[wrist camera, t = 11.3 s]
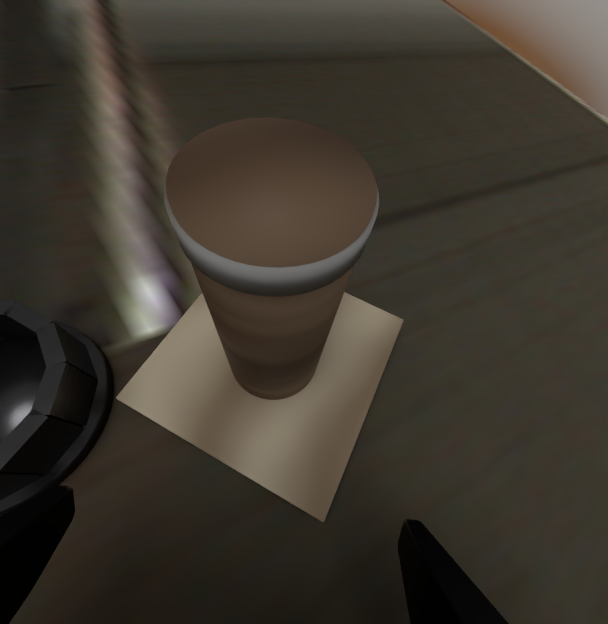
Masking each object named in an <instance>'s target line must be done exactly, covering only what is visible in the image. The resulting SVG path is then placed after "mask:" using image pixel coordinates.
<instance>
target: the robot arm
mask: <svg viewBox="0 0 608 624" xmlns="http://www.w3.org/2000/svg"><path fill="white" fill-rule="evenodd" d="M74 513H75V505H74V494H73V489H72V488H71V487H70V486H60V485H56V486H53V487H51V488H49V489H47V490H46V491H44V492H42V493H40V494H39V495H37V496H35V497H33V498H32V499H30V500H28V501H26V502H25V503H23V504H21V505H19V506H18V507H16V508H14V509H13V510H11V511H9V512H7V513H6V514H4V515H2V516H0V624H9V623H10V621H11V620H12V618H13V617H14V615H15V614H16V613H17V611H18V610H19V608H20V607H21V605H22V604H23V602H24V601H25V599H26V598H27V596H28V595H29V593H30V592H31V590H32V589H33V587H34V585H35V584H36V582H37V580H38V579H39V577H40V575H41V574H42V572H43V570H44V568H45V567H46V565H47V563H48V561H49V560H50V558H51V556H52V554H53V553H54V551H55V549H56V547H57V546H58V544H59V542H60V541H61V539H62V537H63V535H64V534H65V532H66V530H67V528H68V527H69V525H70V523H71V521H72V519H73V517H74ZM398 553H399V559H400V565H401V571H402V577H403V583H404V589H405V594H406V600H407V606H408V612H409V617H410V622H411V624H509V623H508V622H507V621H506V620H505V619H504V618H503V616H502V615H501V614H500V613H499V612H498V611H497V610H496V608H495V607H494V606H493V605H492V604H491V603H490V601H489V600H488V599H487V598H486V597H485V596H484V594H483V593H482V592H481V591H480V590H479V589H478V587H477V586H476V585H475V584H474V583H473V582H472V581H471V579H470V578H469V577H468V576H467V575H466V574H465V572H464V571H463V570H462V569H461V568H460V567H459V565H458V564H457V563H456V562H455V561H454V560H453V558H452V557H451V556H450V555H449V554H448V553H447V551H446V550H445V549H444V548H443V547H442V546H441V545H440V543H439V542H438V541H437V540H436V539H435V538H434V536H433V535H432V534H431V533H430V532H429V531H428V529H427V528H426V527H425V526H424V525H423V524H422V523H421V522H420V521H418V520H410V519H405V520H404V522H403V525H402V528H401V532H400V536H399V540H398Z"/></svg>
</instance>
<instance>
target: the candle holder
mask: <svg viewBox="0 0 608 624" xmlns="http://www.w3.org/2000/svg"><path fill="white" fill-rule="evenodd" d="M113 388H114V383H113V375H112V371H111V367H110V364H109V362H108V360H107V358H106V356H105V354H104V353H103V352H102V350H101V349H100V348H99V347H98V346H97V345H96V344H95V343H94V342H93V341H92V340H91V339H89V338H88V337H87V336H86V335H84V334H83V333H81V332H80V331H78V330H77V329H75V328H73V327H71V326H69V325H67V324H63V323H60V322H56V321H52V320H50V319H48V318H46V317H45V316H43V315H41V314H40V313H38V312H36V311H34V310H33V309H31V308H29V307H27V306H26V305H24V304H22V303H20V302H19V301H16V300H0V515H4V514H6V513H7V512H9V511H11V510H13V509H14V508H16V507H18V506H19V505H21V504H23V503H25V502H26V501H28V500H30V499H32V498H33V497H35V496H37V495H39V494H40V493H42V492H44V491H46V490H47V489H49V488H51V487H53V486H56V485H58V484H59V483H61V482H62V481H63V480H64V479H65V478H66V477H67V476H68V475H69V474H71V473H72V472H73V471H74V470H75V469H76V468H77V466H78V465H79V464H80V463H81V462H82V461H83V460H84V458H85V457H86V456H87V455H88V453H89V452H90V450H91V449H92V448H93V446H94V445H95V443H96V441H97V440H98V438H99V436H100V434H101V433H102V431H103V428H104V426H105V424H106V422H107V419H108V416H109V413H110V409H111V406H112V400H113Z"/></svg>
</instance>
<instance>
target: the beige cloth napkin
mask: <svg viewBox="0 0 608 624" xmlns="http://www.w3.org/2000/svg"><path fill="white" fill-rule="evenodd" d="M403 321H404V320H403V319H401V318H398V317H396V316H394V315H392V314H390V313H388V312H386V311H383V310H381V309H379V308H377V307H375V306H373V305H371V304H368V303H366V302H364V301H362V300H360V299H358V298H356V297H353V296H351V295H349V294H347V293H345V292H344V294H343V297H342V300H341V302H340V305H339V308H338V310H337V313H336V316H335V319H334V321H333V324H332V327H331V330H330V332H329V335H328V338H327V340H326V343H325V346H324V349H323V351H322V354H321V357H320V360H319V362H318V365H317V368H316V370H315V373H314V375H313V377H312V379H311V381H310V382H309V383H308V385H307V386H306V387H305V388H304V389H302V390H301V391H300V392H298V393H297V394H295V395H293V396H291V397H288V398H285V399H279V400H267V399H262V398H258V397H256V396H253V395H252V394H250V393H248V392H247V391H246V390H244V389H243V388H242V387H241V386H240V385H239V383H238V382H237V381H236V379H235V377H234V375H233V373H232V370H231V367H230V365H229V362H228V359H227V357H226V354H225V351H224V349H223V346H222V343H221V341H220V338H219V335H218V333H217V330H216V327H215V325H214V322H213V319H212V317H211V314H210V311H209V309H208V306H207V303H206V301H205V298H204V295H203V293H201V295H200V296H199V297H198V298H197V299H196V301H195V302H194V303H193V304H192V306H191V307H190V308H189V309H188V310H187V312H186V313H185V314H184V315H183V317H182V318H181V319H180V320H179V321H178V323H177V324H176V325H175V326H174V328H173V329H172V330H171V331H170V332H169V334H168V335H167V336H166V337H165V338H164V340H163V341H162V342H161V343H160V345H159V346H158V347H157V348H156V349H155V351H154V352H153V353H152V354H151V356H150V357H149V358H148V359H147V360H146V362H145V363H144V364H143V365H142V366H141V368H140V369H139V370H138V371H137V373H136V374H135V375H134V376H133V377H132V379H131V380H130V381H129V382H128V384H127V385H126V386H125V387H124V388H123V390H122V391H121V392H120V393H119V394H118V396H117V397H116V399H118V400H120V401H121V402H123V403H125V404H126V405H128V406H130V407H131V408H133V409H135V410H136V411H138V412H140V413H141V414H143V415H145V416H146V417H148V418H150V419H151V420H153V421H155V422H156V423H158V424H160V425H161V426H163V427H165V428H166V429H168V430H170V431H171V432H173V433H175V434H176V435H178V436H180V437H181V438H183V439H185V440H186V441H188V442H190V443H191V444H193V445H195V446H196V447H198V448H200V449H201V450H203V451H205V452H206V453H208V454H210V455H211V456H213V457H215V458H216V459H218V460H220V461H221V462H223V463H225V464H226V465H228V466H230V467H231V468H233V469H235V470H236V471H238V472H240V473H241V474H243V475H245V476H246V477H248V478H250V479H251V480H253V481H255V482H256V483H258V484H260V485H262V486H263V487H265V488H267V489H268V490H270V491H272V492H273V493H275V494H277V495H278V496H280V497H282V498H283V499H285V500H287V501H288V502H290V503H292V504H293V505H295V506H297V507H298V508H300V509H302V510H303V511H305V512H307V513H308V514H310V515H312V516H313V517H315V518H317V519H318V520H320V521H322V522H323V523H324V521H325V518H326V516H327V513H328V511H329V508H330V506H331V503H332V501H333V498H334V496H335V493H336V490H337V488H338V485H339V483H340V480H341V478H342V475H343V473H344V470H345V468H346V465H347V463H348V460H349V458H350V455H351V452H352V450H353V447H354V445H355V442H356V440H357V437H358V435H359V432H360V430H361V427H362V425H363V422H364V419H365V417H366V414H367V412H368V409H369V407H370V404H371V402H372V399H373V397H374V394H375V392H376V389H377V387H378V384H379V381H380V379H381V376H382V374H383V371H384V369H385V366H386V364H387V361H388V359H389V356H390V354H391V351H392V349H393V346H394V343H395V341H396V338H397V336H398V333H399V331H400V328H401V326H402V323H403Z"/></svg>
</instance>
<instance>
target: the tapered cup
mask: <svg viewBox="0 0 608 624" xmlns="http://www.w3.org/2000/svg"><path fill="white" fill-rule="evenodd" d="M164 201H165V207H166V210H167V213H168V216H169V218H170V221H171V223H172V226H173V228H174V231H175V233H176V236H177V238H178V241H179V243H180V246H181V248H182V249H183V251H184V253H185V255H186V256H187V258H188V259H189V260H190V261H191V263H192V266H193V269H194V271H195V274H196V277H197V279H198V282H199V285H200V287H201V290H202V293H203V295H204V298H205V301H206V303H207V306H208V309H209V311H210V314H211V317H212V319H213V322H214V325H215V327H216V330H217V333H218V335H219V338H220V341H221V343H222V346H223V349H224V351H225V354H226V357H227V359H228V362H229V365H230V367H231V370H232V373H233V375H234V377H235V379H236V381H237V382H238V383H239V385H240V386H241V387H242V388H243V389H244V390H246V391H247V392H248V393H250V394H252V395H253V396H256V397H258V398H262V399H267V400H279V399H285V398H288V397H291V396H293V395H295V394H297V393H298V392H300V391H301V390H302V389H304V388H305V387H306V386H307V385H308V383H309V382H310V381H311V379H312V377H313V375H314V373H315V370H316V368H317V365H318V362H319V360H320V357H321V354H322V351H323V349H324V346H325V343H326V340H327V338H328V335H329V332H330V330H331V327H332V324H333V321H334V319H335V316H336V313H337V310H338V308H339V305H340V302H341V300H342V297H343V294H344V291H345V289H346V286H347V283H348V280H349V278H350V275H351V272H352V270H353V267H354V264H355V263H356V262H357V261H358V259H359V258H360V256H361V254H362V252H363V250H364V248H365V245H366V243H367V240H368V237H369V235H370V232H371V230H372V227H373V224H374V222H375V219H376V216H377V213H378V207H379V194H378V189H377V185H376V181H375V177H374V175H373V172H372V170H371V168H370V166H369V165H368V163H367V162H366V160H365V159H364V158H363V156H362V155H361V154H360V153H359V152H358V151H357V150H356V149H355V148H354V147H353V146H351V145H350V144H349V143H347V142H346V141H345V140H343V139H342V138H340V137H338V136H337V135H335V134H333V133H331V132H329V131H327V130H325V129H322V128H320V127H317V126H314V125H311V124H308V123H305V122H300V121H296V120H290V119H283V118H249V119H242V120H236V121H232V122H228V123H224V124H221V125H218V126H215V127H213V128H211V129H209V130H206V131H204V132H202V133H201V134H199V135H197V136H196V137H194V138H193V139H192V140H190V141H189V142H188V143H187V144H185V145H184V146H183V147H182V148H181V150H180V151H179V152H178V153H177V154H176V156H175V157H174V159H173V160H172V162H171V165H170V167H169V169H168V173H167V177H166V181H165V184H164Z"/></svg>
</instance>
